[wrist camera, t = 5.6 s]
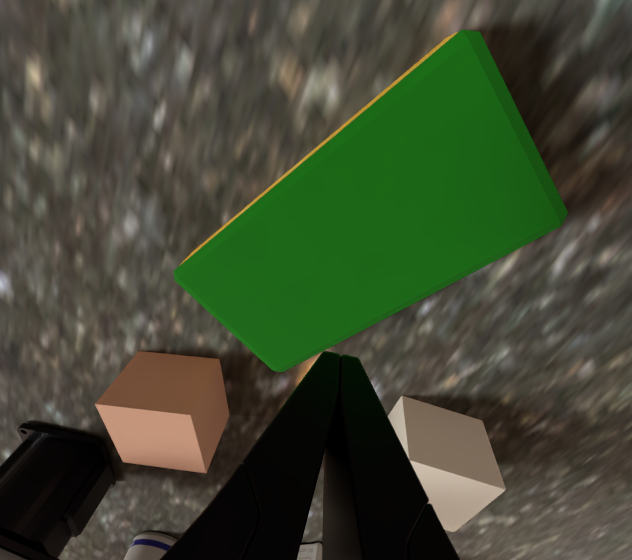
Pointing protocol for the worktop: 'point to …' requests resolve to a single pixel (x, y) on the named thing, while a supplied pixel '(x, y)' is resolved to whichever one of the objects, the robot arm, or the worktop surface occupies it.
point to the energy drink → (149, 546)
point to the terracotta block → (166, 411)
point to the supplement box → (310, 552)
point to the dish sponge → (381, 211)
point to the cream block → (448, 459)
